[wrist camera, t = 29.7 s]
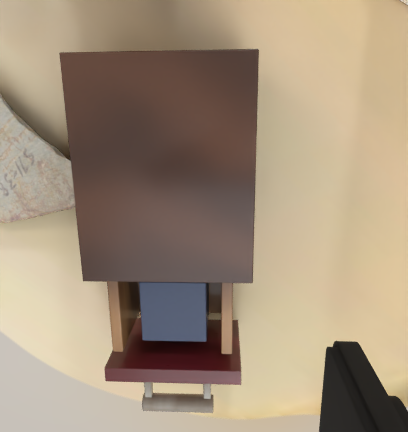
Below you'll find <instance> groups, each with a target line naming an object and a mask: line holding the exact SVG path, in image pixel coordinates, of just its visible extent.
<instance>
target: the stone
mask: <svg viewBox="0 0 408 432" xmlns="http://www.w3.org/2000/svg"><path fill="white" fill-rule="evenodd" d="M74 207H75V197H74V188H73V178H72V168H71V160H69V159H67V158H66V157H65V156H64V155H63V154H62V153H61V152H60V151H59V150H58V148H56V147H54V146H52V145H51V144H49V143H48V142H46V141H45V140H43V139H42V138H41V137H40V136H39V135H38V134H37V133H36V132H35V131H34V130H33V129H32V128H31V127H30V126H28V125H27V124H26V122H25V121H24V120H23V119H21V118H20V117H19V116H18V115H17V114H16V113H14V111H13V110H12V108H11V107H10V106H9V105H8V104H7V103H6V101H5V100H4V98H3V96H2V95H1V94H0V222H3V223H8V222H13V221H17V220H22V219H28V218H32V217H36V216H42V215H45V214H49V213H52V212H57V211H62V210H65V209H71V208H74Z"/></svg>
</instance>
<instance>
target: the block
mask: <svg viewBox="0 0 408 432" xmlns="http://www.w3.org/2000/svg"><path fill="white" fill-rule="evenodd" d="M139 293H140V309H141V326H142V340H145V341H193V342H206V341H207V329H208V315H209V283H194V282H139Z"/></svg>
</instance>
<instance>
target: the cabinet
mask: <svg viewBox="0 0 408 432" xmlns="http://www.w3.org/2000/svg"><path fill="white" fill-rule="evenodd" d="M258 58H259V50H258V49H232V50H177V51H121V52H66V53H60V62H61V72H62V81H63V91H64V101H65V110H66V120H67V130H68V139H69V149H70V159H71V168H72V178H73V188H74V197H75V207H76V216H77V226H78V236H79V245H80V255H81V265H82V274H83V281H115V282H194V283H253V250H254V211H255V173H256V135H257V96H258Z"/></svg>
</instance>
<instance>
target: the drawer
mask: <svg viewBox="0 0 408 432" xmlns="http://www.w3.org/2000/svg"><path fill="white" fill-rule="evenodd" d="M107 286H108V297H109V309H110V321H111V332H112V344H113V351H112V353H111V355H110V357H109V360H108V362H107V364H106V366H105V378H106V381H118V382H144V387H145V393H144V395H143V400H142V408H143V411H171V412H202V413H213V395H211V384H234V385H241V359H240V344H239V328H238V320H232V313H233V283H209V313H221V320H208V329H207V341H206V342H193V341H145V340H142V326H141V318H137V316H138V314H139V311H141V309H140V293H139V282H115V281H107ZM152 382H157V383H196V384H203V387H204V394H170V393H153V383H152Z"/></svg>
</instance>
